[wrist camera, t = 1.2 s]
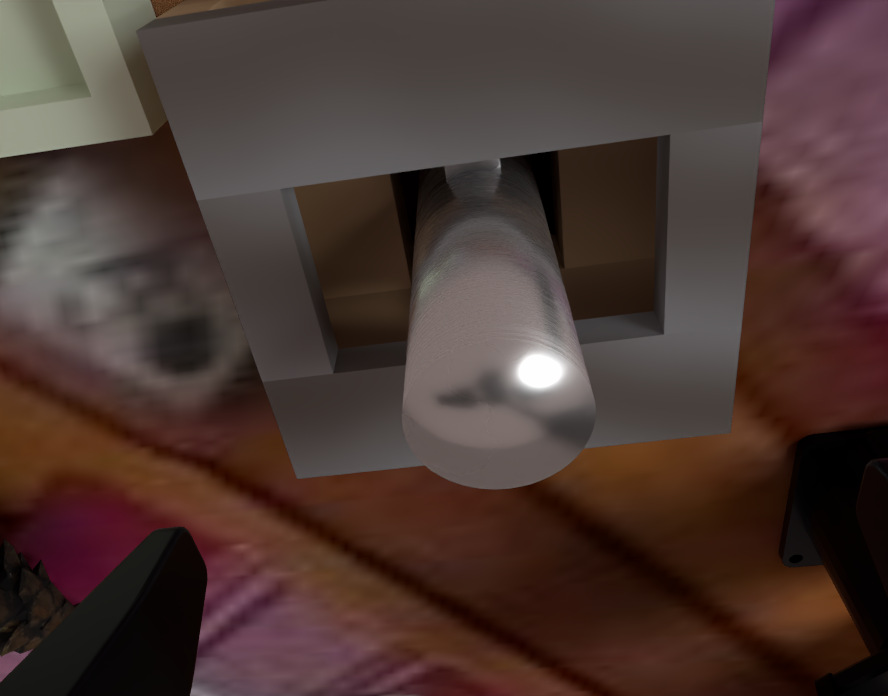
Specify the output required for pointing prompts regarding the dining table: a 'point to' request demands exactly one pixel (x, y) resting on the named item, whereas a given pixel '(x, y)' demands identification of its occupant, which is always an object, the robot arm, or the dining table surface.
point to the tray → (74, 74)
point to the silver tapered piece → (491, 333)
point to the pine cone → (27, 603)
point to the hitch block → (463, 141)
